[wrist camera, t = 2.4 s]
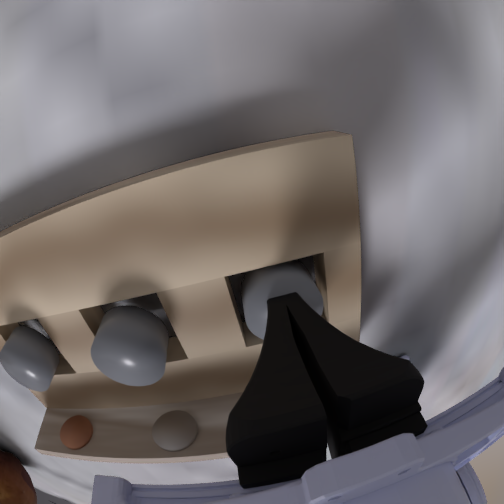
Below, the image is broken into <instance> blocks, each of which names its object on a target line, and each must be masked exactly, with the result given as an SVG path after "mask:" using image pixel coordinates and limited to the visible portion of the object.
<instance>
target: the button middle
mask: <svg viewBox="0 0 504 504" xmlns="http://www.w3.org/2000/svg"><path fill="white" fill-rule="evenodd" d="M168 341H169V334H168V331H167V328H166V327H165V325H164V323H163V322H162V321H161V320H160V319H159V318H158V317H157V316H156V315H154V314H153V313H151V312H149V311H147V310H145V309H143V308H140V307H136V306H128V305H126V306H118V307H115V308H112V309H110V310H109V311H108V312H107V313H106V314H105V315H104V316H103V318H102V321H101V323H100V326H99V328H98V331H97V333H96V336H95V338H94V341H93V343H92V346H91V357H92V360H93V362H94V364H95V365H96V367H97V368H98V369H99V370H100V371H101V372H102V373H103V374H104V375H106V376H107V377H109V378H110V379H112V380H114V381H116V382H119V383H122V384H125V385H130V386H146V385H151V384H153V383H155V382H157V381H159V380H160V379H161V378H162V377H163V375H164V372H165V366H166V357H167V349H168Z"/></svg>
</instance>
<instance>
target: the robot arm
mask: <svg viewBox="0 0 504 504" xmlns="http://www.w3.org/2000/svg"><path fill="white" fill-rule="evenodd" d="M267 308H268V314H267V324H266V332H265V336H264V341H263V345H262V349H261V352H260V356H259V359H258V362H257V364H256V367H255V369H254V372H253V374H252V376H251V378H250V380H249V382H248V384H247V386H246V388H245V390H244V392H243V393H242V395H241V397H240V398H239V400H238V401H237V403H236V404H235V406H234V407H233V409H232V410H231V412H230V413H229V417H228V421H227V427H226V438H225V439H226V451H227V454H228V456H229V457H230V458H231V459H232V461H233V462H234V463H235V464H236V465H237V467H238V475H239V480H232V481H224V482H214V483H201V484H182V485H143V484H131V483H130V482H129V481H127V480H125V479H123V478H120V477H114V476H103V475H95V478H94V485H93V494H92V503H91V504H487V500H486V496H485V493H484V490H483V488H482V485H481V483H480V481H479V479H478V477H477V475H476V473H475V471H474V469H473V468H472V466H471V465H470V463H469V461H471V460H472V459H473V458H475V457H476V456H478V455H479V454H480V453H482V452H483V451H484V450H486V449H487V448H488V447H489V446H491V445H492V444H493V443H494V442H496V441H497V440H498V439H499V438H501V437H502V436H503V435H504V367H503V369H502V370H501V372H500V374H499V377H497V378H496V379H495V380H493V381H492V382H490V383H489V384H487V385H486V386H485V387H483V388H482V389H480V390H479V391H477V392H476V393H474V394H472V395H471V396H469V397H468V398H466V399H464V400H463V401H461V402H460V403H458V404H456V405H455V406H453V407H451V408H449V409H448V410H446V411H444V412H442V413H440V414H439V415H437V416H435V417H433V418H431V419H429V420H427V421H425V420H424V418H423V416H422V414H421V413H420V411H421V406H420V404H419V403H418V399H419V396H420V394H421V392H422V389H423V386H424V380H423V377H422V376H421V374H420V373H419V371H418V370H417V369H416V368H415V366H414V365H413V364H412V363H411V362H410V358H409V356H408V355H404V356H402V357H396V356H392V355H389V354H386V353H383V352H380V351H378V350H375V349H373V348H371V347H368V346H366V345H364V344H362V343H360V342H358V341H356V340H354V339H353V338H351V337H349V336H348V335H346V334H344V333H343V332H341V331H340V330H338V329H337V328H335V327H334V326H333V325H331V324H330V323H329V322H327V321H326V320H325V319H324V318H323V317H321V316H320V315H319V314H318V313H317V312H316V311H315V310H313V309H312V308H311V307H310V306H309V305H308V304H307V303H306V302H305V301H304V300H303V299H302V297H301V296H300V295H299V294H298V293H296V292H293V293H289V294H285V295H281V296H278V297H274V298H270V299H268V300H267ZM327 443H328V447H329V450H330V454H331V458H332V459H331V460H328V461H326V448H327Z"/></svg>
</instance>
